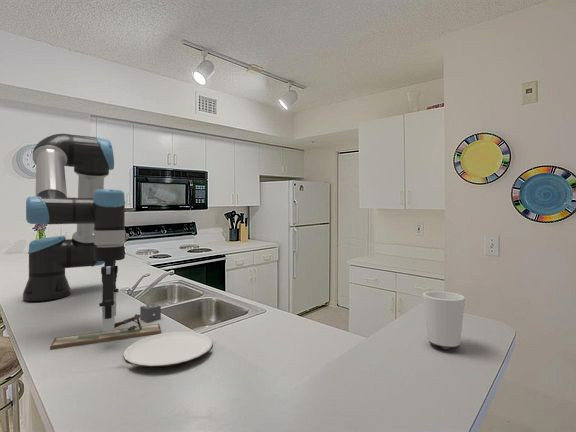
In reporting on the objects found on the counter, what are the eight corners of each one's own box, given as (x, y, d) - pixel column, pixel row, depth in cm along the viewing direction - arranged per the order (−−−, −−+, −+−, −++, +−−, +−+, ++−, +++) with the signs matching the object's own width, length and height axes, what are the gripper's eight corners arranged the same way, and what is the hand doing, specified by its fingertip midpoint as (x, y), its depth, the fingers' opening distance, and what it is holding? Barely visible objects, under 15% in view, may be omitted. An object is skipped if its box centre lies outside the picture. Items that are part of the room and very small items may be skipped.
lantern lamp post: (110, 324, 90) (141, 313, 94) (110, 322, 92) (140, 311, 95) (114, 339, 91) (145, 328, 94) (114, 337, 92) (144, 326, 96)
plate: (124, 378, 68) (124, 372, 68) (122, 344, 87) (122, 339, 87) (222, 358, 78) (222, 353, 78) (202, 331, 97) (202, 326, 97)
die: (140, 320, 105) (140, 306, 105) (153, 317, 109) (153, 303, 109) (147, 323, 102) (147, 308, 102) (161, 320, 106) (161, 305, 106)
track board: (55, 340, 88) (55, 337, 88) (159, 326, 99) (159, 323, 99) (50, 349, 82) (50, 346, 82) (161, 333, 94) (161, 330, 94)
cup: (461, 339, 88) (461, 292, 88) (468, 354, 79) (468, 301, 79) (421, 335, 92) (421, 289, 92) (424, 349, 82) (424, 298, 82)
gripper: (97, 242, 100) (97, 312, 100) (88, 250, 78) (89, 340, 78) (125, 241, 104) (125, 309, 104) (124, 249, 81) (124, 335, 81)
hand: (109, 322), depth 91 cm, fingers open, 13 cm apart
